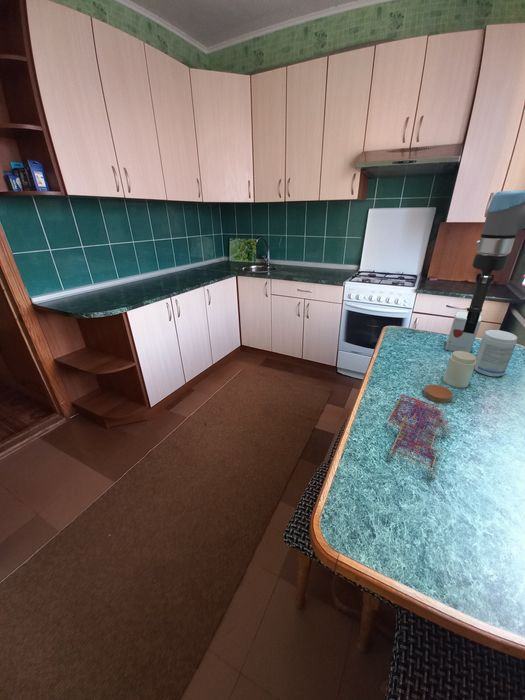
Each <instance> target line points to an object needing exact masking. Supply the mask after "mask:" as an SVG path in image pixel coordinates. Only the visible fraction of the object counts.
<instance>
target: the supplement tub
mask: <svg viewBox="0 0 525 700" xmlns="http://www.w3.org/2000/svg"><path fill="white" fill-rule="evenodd" d="M517 341H518V336H517V335H516V334H513V333H512V332H508V331H505V330H500V329H488V330H485V331H484V333H483V335H482V337H481V341H480V343H479V346H478V350H477V352H476V355H475V356H476V365H475V368H474V371H476V372H477V373H480V374H482V375H484V376H488V377H502V376H503V375H505V373H506V370H507V367H508V366H509V363H510V361H511V358H512V355H513V353H514V350H515V349H516V348H515V347H516V345H517Z"/></svg>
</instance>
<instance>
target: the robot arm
mask: <svg viewBox="0 0 525 700" xmlns="http://www.w3.org/2000/svg"><path fill="white" fill-rule="evenodd" d="M486 211H487V212H486V217H485V220H484V222H483V223H484V224H483V227H482V231H481V235H480V238H479V240H477V241H476V242H475V244H476V245H477V248H476V252H477V253H476V254H475V255H474V259H473V260H472V261H473V262H472V268H474V269H476V270H480V273H477V274H476V277H475V286H474V288H473V290H474V292H473V294H472V298H471V301H470V304H469V307H468V308H467V309H466V312H467V313H468V314H467V320H466V323H465V327H464V330H463V332H465V333H471V334H474V332H475V329H476V326H477V323H478V320H479V317H480V315H481V313H482V312H483V307H484V304H485V300H486V299H487V293H488V292H489V291H490V288H491V284H493V281H494V279H495V277H494V276H495V274H492V273H493V271H496V272H497V271H503V270H504V269H505V268H506V266H507V263H508V260H509V254H511V251H512V249H513V247H514V243H515V239H516V237H517V236H516V235H517V233H518V231H525V190H524V189H523V190H501V191H497V192H495V193H494V194H493V196H492V198H491V200H490V203H489V205H488V208H487V210H486Z"/></svg>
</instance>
